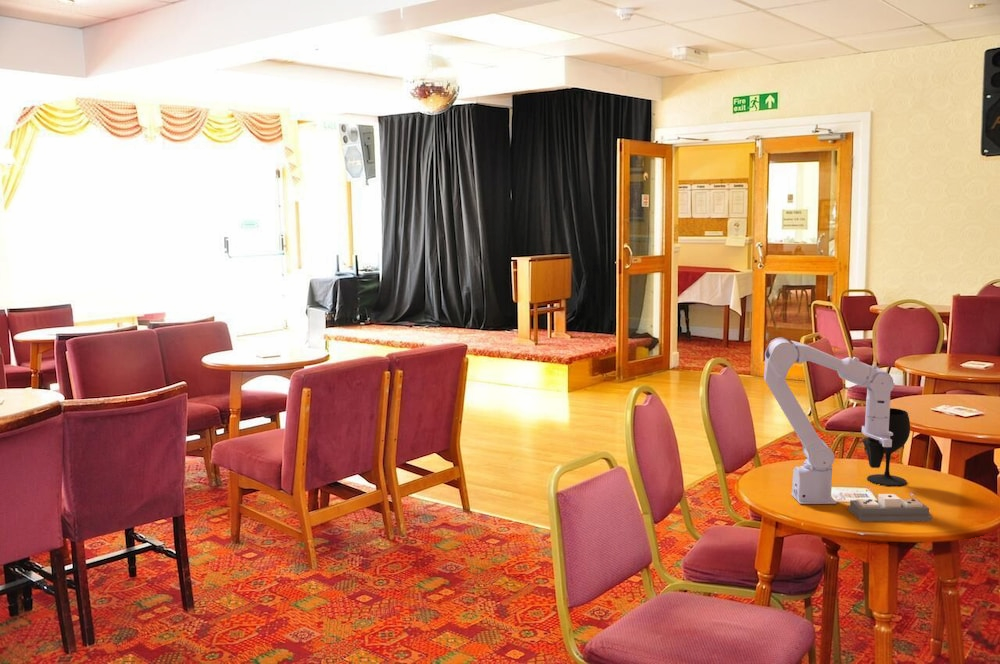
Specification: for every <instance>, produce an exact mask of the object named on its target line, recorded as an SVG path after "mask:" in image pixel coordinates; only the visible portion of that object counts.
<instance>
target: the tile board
mask: <svg viewBox="0 0 1000 664" xmlns="http://www.w3.org/2000/svg"><path fill="white" fill-rule="evenodd" d="M873 500H874V501H875V502H877V503H878V499H873ZM856 501H857V499H855V500H854V499H853V500H852V499H851V500H850V503H849V504H848V505H847V510H848V511H849V512H851V514H852V515H854V516H855V517H856V518H857V519H858V520H859V521H860V522H932V519H931V518H932V517H933V516H932V517H930V516H929V512H930V508H929V507H928V506H927V505H925V504H924V503H923V502H922V501H920V500H919V502H920V503H922V504H923V507H905V506H903V505H902V504H901V507H883V506H882V505H880V504H879V503H878V504H879V507H861V506H860V505H858V504H857V503H856Z"/></svg>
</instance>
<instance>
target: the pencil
mask: <svg viewBox="0 0 1000 664" xmlns="http://www.w3.org/2000/svg"><path fill="white" fill-rule="evenodd" d="M909 496H910V497H911V499H916V500H918V501H920V499H919V498H917V496H916V495H915V494H914V493H913V492H910V493H909ZM929 516H930V517H932V518H931V520H933V518H934V517H933V515H932V514H931V512H930V511H929Z"/></svg>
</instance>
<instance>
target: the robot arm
mask: <svg viewBox="0 0 1000 664" xmlns="http://www.w3.org/2000/svg"><path fill="white" fill-rule="evenodd" d="M796 362H797V363H798V364H802V363H806V362H811V363H814V364H817V365H819V366H822V367H825V368H828V369H831V370H833V371H836V372H837V374H838V376H839V377H838V378H840V379H843V380H844V381H848V382H850V383H853V384H855V385H857V386H860V387H864V388H865V387H866V389H867V390H866V398H865V400H866V401H865V417H864V418H865V420H864V425H861V433H862V434H863V435H864V436H865V437H867V438H863V439H861V441H862V443H863V445H864V448H865V450H866V454H867V460H868V464H869V467H870V468H871V469H880V468H881V464H882V461H883V459H884V455H885V452H886V450H887V449H888V447H892V439H890V436H893V433H892V432H889V415H890V408H891V392H892V391H894V388H895V386H896V385H895V382H894V379H893V376H892V375H891V374H890V373H889V372H887V371H885V370H884V369H882V368H880V367H878V366H877V365H875V364H872V365H869V364H867V363H865V362H862V361H860V359H859V358H858V357H855V356H853V357H845V358H842V359H840V358H839V357H836V356H834V355H832V354H830V353H827V352H824V351H822V350H820V349H817V348H815V347H813V346H811V345H808V344H805V343H802V342H798V341H795V340H789V339H787V338H786V337H785V338H784V337H776V338H774V339H772V340H770V342H769V344H768V346H767V347H766V350H765V352H764V369H763V370H764V371H763V372H764V373H763V378H764V382H765V383H766V385H767V387H768V388H769V390H770V392H771V393H772V395H773V397H774V399H775V400H776V402H777V403H778V406H779V407H780V409H781V410H782V412H783V414H784V416H785V417H786V418H787V420H788V422H789V424H790V425H791V427H792V429H793V430H794V432H795V434H796V435H797V437H798V439H799V441H800V443H801V445H802V452H803V455H804V456H805V457H806V459H805V460H804V462H803V465H800V466H795V467H794V468H793V471H792V483H791V484H792V486H791V487H792V488H791V497H793V498H794V499H795V500H796V501H797V502H798V503H799V504H800V505H836V504H837V501H836V500H835V499H834V498H833V497H832V484H833V464H834V462H835V454H834V452H833V451H832V449H831V448H830V447H828V445H827V443H826V441H825V440H823V439H822V438H820V436H819V434H818V433H817V432H816V429H815V428H814V427H813V425H812V423H811V421H810V420H809V418H808V416H807V415H806V413H805V412H804V409H803V408H802V406H801V404H800V403H799V401H798V400H797V398H796V397H795V394H794V393H793V391H792V390H791V388H790V387H789V385H788V383H787V381H786V377H787V375H788V373H789V370H790V369H791V367H793V365H794V364H795V363H796Z"/></svg>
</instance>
